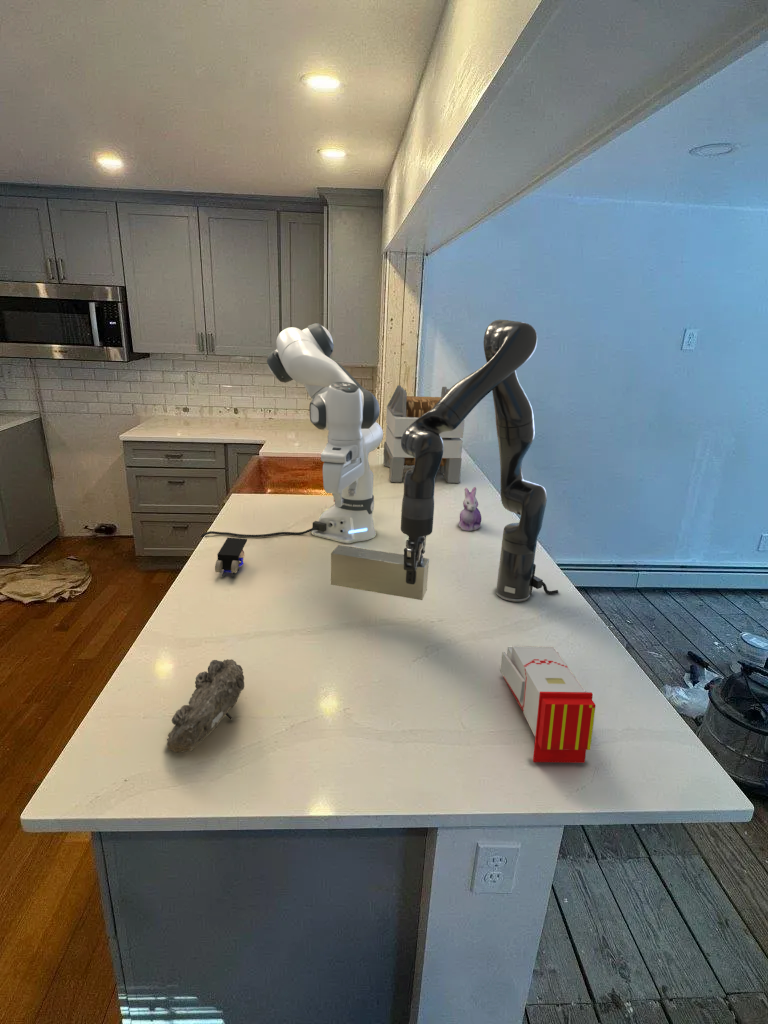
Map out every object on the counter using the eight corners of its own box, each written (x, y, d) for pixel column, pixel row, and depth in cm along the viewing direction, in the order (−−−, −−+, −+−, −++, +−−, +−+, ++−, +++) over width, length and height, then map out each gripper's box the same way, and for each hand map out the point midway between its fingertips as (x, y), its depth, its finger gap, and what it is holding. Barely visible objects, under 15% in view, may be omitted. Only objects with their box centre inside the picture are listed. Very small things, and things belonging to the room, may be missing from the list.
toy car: (238, 584, 162) (249, 557, 175) (236, 562, 158) (247, 536, 172) (215, 584, 161) (227, 556, 175) (212, 561, 158) (225, 535, 171)
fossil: (192, 660, 117) (244, 628, 112) (224, 691, 120) (276, 661, 115) (142, 746, 98) (202, 712, 93) (182, 779, 101) (242, 748, 96)
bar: (330, 584, 142) (330, 553, 139) (338, 575, 147) (338, 544, 144) (422, 600, 136) (424, 567, 133) (426, 590, 141) (429, 558, 138)
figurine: (467, 533, 203) (471, 493, 198) (451, 523, 211) (454, 485, 206) (488, 529, 207) (492, 490, 202) (471, 520, 215) (475, 482, 210)
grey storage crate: (382, 463, 289) (386, 382, 275) (445, 464, 293) (451, 384, 279) (390, 482, 257) (394, 392, 243) (460, 483, 261) (468, 394, 247)
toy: (549, 628, 125) (605, 700, 96) (544, 683, 128) (596, 770, 99) (495, 627, 125) (534, 699, 95) (491, 683, 128) (527, 769, 98)
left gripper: (348, 439, 153) (348, 488, 158) (317, 456, 135) (319, 511, 139) (370, 441, 152) (370, 491, 156) (342, 458, 133) (343, 514, 138)
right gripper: (426, 525, 125) (422, 593, 131) (439, 505, 138) (434, 568, 144) (394, 521, 127) (390, 588, 132) (409, 501, 140) (405, 563, 146)
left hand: (345, 500), depth 148 cm, fingers open, 8 cm apart
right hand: (413, 577), depth 138 cm, fingers closed on bar, 5 cm apart
